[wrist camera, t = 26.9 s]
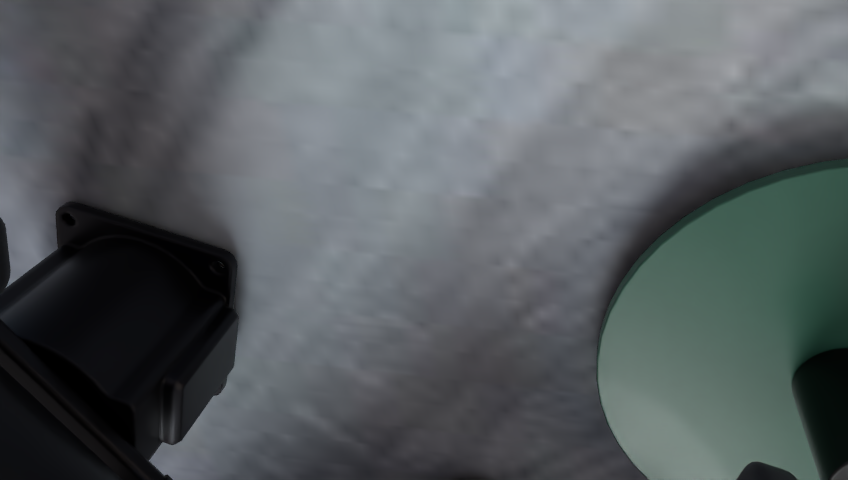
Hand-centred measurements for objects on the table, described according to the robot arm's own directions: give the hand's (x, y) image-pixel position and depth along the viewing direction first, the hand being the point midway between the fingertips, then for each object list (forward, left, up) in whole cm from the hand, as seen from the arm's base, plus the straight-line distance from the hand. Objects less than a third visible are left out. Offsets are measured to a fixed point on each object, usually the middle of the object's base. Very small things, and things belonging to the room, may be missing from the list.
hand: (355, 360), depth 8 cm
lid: (+12, -6, -12) cm, 18 cm away
